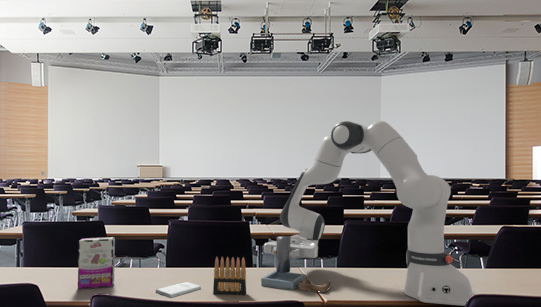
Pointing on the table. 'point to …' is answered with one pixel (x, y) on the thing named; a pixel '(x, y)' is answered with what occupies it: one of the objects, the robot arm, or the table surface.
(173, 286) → the external hard drive
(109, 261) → the candy bar box
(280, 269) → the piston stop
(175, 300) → the table surface
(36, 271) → the table surface
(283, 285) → the tray
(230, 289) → the ammunition clip
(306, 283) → the stop seat
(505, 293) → the table surface
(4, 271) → the table surface
